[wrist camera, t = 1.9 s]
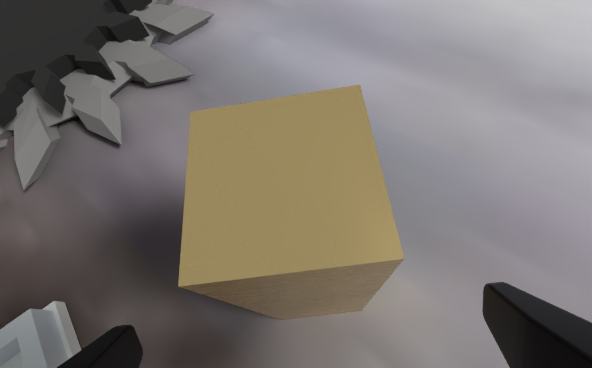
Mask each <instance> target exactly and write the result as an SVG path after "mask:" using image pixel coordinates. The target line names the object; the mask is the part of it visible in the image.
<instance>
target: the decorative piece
mask: <svg viewBox="0 0 592 368" xmlns="http://www.w3.org/2000/svg"><path fill="white" fill-rule="evenodd" d="M172 1H173V0H0V151H1V150H2V149H3V148H5V147H6V146H7V139H8V138H9V137H10V136H12V135H13V134H14V149H15V161H16V165H17V168H18V172H19V176H20V179H21V183H22V186H23V190H25V189H26V188H27V187H28V186H30V185H31V184H32V183H33V182H34V181H36V180H37V179H38V178H39V177H40V176H41V174H42V172H43V170H44V168H45V166H46V165H47V163H48V161H49V159H50V157H51V155H52V153H53V151H54V150H55V148H56V146H57V144H58V142H59V140H60V138H61V137H60V135H59V133H58V130H57V127H58V125H59V124H61V123H63V122H66V121H68V120H70V119H73V118H75V117H77V116H79V118H80V119H81V121H82V122H83V123H84V125H85V126H86V128H87V129H88V130H90V131H92V132H94V133H97V134H99V135H101V136H103V137H105V138H107V139H110V140H112V141H114V142H116V143H118V144H120V145H122V142H121V124H120V108H119V107H118V106H117V105H116V104H115V103H114V102H113V101H112V100H111V97H112V96H113V95H114V94H116V93H117V92H118V91H119V90H121V89H122V88H123V87H124V86H125V85H127V84H128V83H129V82H130V81H138V82H143V83H144V84H145V86H146V87H150V86H155V85H160V84H164V83H169V82H174V81H179V80H184V79H186V78H188V77H190V76H192V75H194V73H192V72H191V71H189V70H188V69H186V68H185V67H183V66H182V65H180V64H178V63H177V62H175V61H174V60H172V59H171V58H169V57H168V56H166V55H164V54H163V53H161V52H159V51H157V50H155V49H153V48H152V47H150V46H151V45H152V44H154V43H156V42H158V41H159V42H162V43H165V44H171V43H173V42H175V41H177V40H178V39H180V38H182V37H184V36H186V35H187V34H189V33H191V32H193V31H195V30H196V29H198V28H200V27H202V26H203V25H204V24H205V23H206V22H207V21H208V20H209V19H210V18H211V17H212V16H213V15H214V13H210V12H207V11H203V10H200V9H196V8H193V7H189V6H176V5H169V4H170V3H171V2H172Z"/></svg>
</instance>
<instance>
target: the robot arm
mask: <svg viewBox="0 0 592 368" xmlns="http://www.w3.org/2000/svg"><path fill="white" fill-rule="evenodd" d="M483 316H484V319H485V321H486V323H487V325H488V327H489V329H490V331H491V333H492V335H493V337H494V339H495V340H496V342H497V344H498V346H499V348H500V350H501V352H502V354H503V356H504V358H505V359H506V361H507V363H508V365H509V367H510V368H592V323H591V322H589V321H587V320H585V319H583V318H580V317H578V316H576V315H574V314H572V313H570V312H567V311H565V310H563V309H561V308H559V307H557V306H554V305H552V304H550V303H548V302H546V301H544V300H542V299H539V298H537V297H535V296H533V295H531V294H529V293H526V292H524V291H522V290H520V289H518V288H516V287H514V286H511V285H509V284H507V283H505V282H496V283H488V284H486V285H485V286H484V290H483ZM142 355H143V351H142V346H141V344H140V341H139V339H138V336H137V334H136V331H135V329H134V327H133V326H132V325H122V326H116V327H114V328H112V329H111V330H109V331H108V332H106V333H105V334H103V335H102V336H101V337H99V338H98V339H96V340H95V341H94V342H92V343H91V344H89V345H88V346H86V347H85V348H84V349H82V350H81V351H79V352H78V353H76V354H75V355H74V356H72V357H71V358H69V359H68V360H67V361H65V362H64V363H62V364H61V365H59V366H58V367H57V368H139V366H140V363H141V360H142Z"/></svg>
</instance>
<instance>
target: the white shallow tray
mask: <svg viewBox="0 0 592 368" xmlns="http://www.w3.org/2000/svg"><path fill="white" fill-rule="evenodd" d="M79 351H81V348H80V345H79V342H78V339H77V336H76V333H75V330H74V328H73V325H72V322H71V319H70V316H69V313H68V310H67V308H66V305H65V302H59V301H53V302H52V303H50V304H49V305H47V306H46V307H45V308H43V309H42V310H41V309H29V310H27V311H26V312H24V313H23V314H22V315H20V316H19V317H17V318H16V319H14V320H13V321H12V322H10V323H9V324H7V325H6V326H4V327H3V328H2V329H0V368H57V367H58V366H59V365H61V364H62V363H64V362H65V361H67V360H68V359H69V358H71V357H72V356H74V355H75V354H76V353H78V352H79Z"/></svg>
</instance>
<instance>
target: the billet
mask: <svg viewBox="0 0 592 368" xmlns="http://www.w3.org/2000/svg"><path fill="white" fill-rule="evenodd" d="M403 260H404V256H403V252H402V248H401V244H400V240H399V237H398V233H397V229H396V225H395V221H394V217H393V213H392V209H391V205H390V201H389V197H388V193H387V189H386V185H385V181H384V178H383V174H382V170H381V166H380V162H379V158H378V154H377V150H376V146H375V142H374V138H373V134H372V130H371V126H370V123H369V119H368V115H367V111H366V107H365V103H364V99H363V95H362V91H361V87H360V85H355V86H349V87H343V88H336V89H330V90H324V91H318V92H312V93H305V94H299V95H293V96H287V97H281V98H274V99H268V100H262V101H256V102H249V103H243V104H237V105H231V106H225V107H218V108H212V109H206V110H200V111H194V112H191V118H190V131H189V145H188V159H187V172H186V186H185V200H184V213H183V227H182V241H181V254H180V268H179V282H178V287H181V288H184V289H187V290H190V291H193V292H196V293H199V294H202V295H205V296H209V297H212V298H215V299H218V300H221V301H224V302H227V303H230V304H233V305H236V306H239V307H243V308H246V309H249V310H252V311H255V312H258V313H261V314H264V315H267V316H270V317H273V318H277V319H280V320H284V319H293V318H301V317H310V316H319V315H328V314H337V313H345V312H354V311H362V309H363V308H364V307H365V306H366V305H367V303H368V302H369V301H370V300H371V299H372V297H373V296H374V295H375V294H376V292H377V291H378V290H379V289H380V288H381V286H382V285H383V284H384V283H385V282H386V280H387V279H388V278H389V277H390V275H391V274H392V273H393V272H394V271H395V269H396V268H397V267H398V266H399V265H400V263H401V262H402V261H403Z"/></svg>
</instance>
